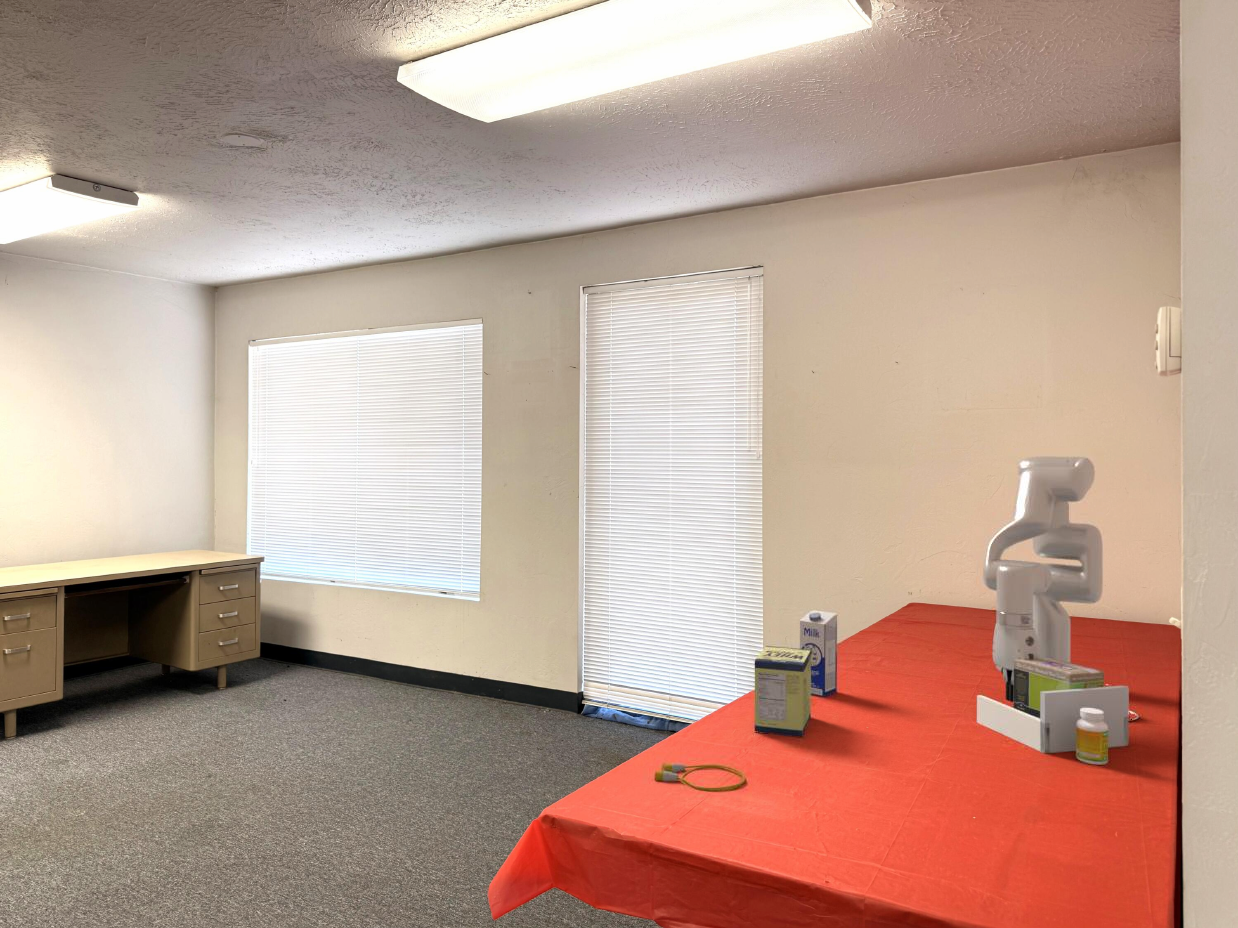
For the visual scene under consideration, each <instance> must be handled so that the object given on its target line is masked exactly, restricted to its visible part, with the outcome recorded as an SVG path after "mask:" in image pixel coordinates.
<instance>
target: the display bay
mask: <svg viewBox="0 0 1238 928" xmlns="http://www.w3.org/2000/svg"><path fill="white" fill-rule="evenodd" d="M1129 694H1130V688H1129V686H1128V685H1127V686H1126V685H1115V686H1114V685H1113V686H1104V687H1097V688H1083V689H1069V690H1055V691H1041V692H1040V719H1039V718H1036V717H1034V716H1032V715H1029V714H1027V713H1024V712H1022V711H1019V710H1017V709H1014V708H1013V707H1012V706H1009V705H1007V704H1004V703H1002V702H1000V701H997V700H995V699H992V698H989V697H988V696H985V695H979V694H978V695H976V723H977V724H979V725H981V726H982V727H983V726H984V727H986V728H988V729H990V730H993V731H994V732H996V733H999V734H1002V735H1004V736H1006V737H1007V738H1010V739H1012V740H1014V741H1017V742H1019V743H1021V744H1023V745H1025V746H1027V747H1029V748H1031V749H1034V750H1036V751H1038V752H1041V753H1043V754H1053V753H1064V752H1076V722H1077V721H1078V720H1079V719H1082V717H1081V716H1080V709H1081V708H1094V709H1098V710H1101V711H1103V712H1104V720H1102V721H1103V722H1104V723H1106V724H1107V726H1108V748H1117V747H1118V748H1119V747H1126V746H1128V747H1129V740H1130V739H1129V738H1130V737H1129V735H1130V734H1129V732H1130V731H1129V721H1130V720H1129V711H1130V706H1129V705H1130V704H1129V702H1130V701H1129V700H1130V698H1129V697H1130V695H1129Z"/></svg>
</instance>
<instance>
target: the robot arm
mask: <svg viewBox="0 0 1238 928" xmlns="http://www.w3.org/2000/svg"><path fill="white" fill-rule="evenodd" d="M1093 463H1094V462H1092V460H1091V459H1090V458H1088V457H1084V456H1032V457H1027V458H1024V459H1022V460H1020V461H1019V463H1018V466H1017V470H1018V471H1017V472H1018V476H1019V477H1018V480H1017V481H1018V482H1017V487H1016V488H1017V489H1016V493H1015V494H1016V495H1015V501H1014V506H1013V511H1012V519H1011V521H1010V522H1008V523H1007V524H1005V525H1004V526H1003V527H1001V529H999V530H998V531H997V533H995V534H994V535H993V536H992V538H991V540H990V541H989V543H988V545H987V548H986V551H985V557H984V563H983V569H982V580H983V583H984V585H985V587H987V588H988V589H990V590H991V591H995V592H996V610H995V611H996V614H995V615H996V616H995V617H996V620H995V621H996V623H995V626H994V632H993V641H992V660H993V663H994V664H995V668H996V669H997V670H998V671H999V672H1001V674H1002V676H1003V681H1004V682H1005V700H1006V701H1007V702H1008V701H1009V702H1011V703H1014V660H1015V659H1020V660H1028V659H1039V657H1049V658H1053V659H1056V660H1061V661H1065V662H1069V663H1071V617H1070V615H1069V613H1068V612H1067V610H1066V609H1065V608H1064V606H1063V605H1062V604H1061V602H1063V603H1076V604H1085V605H1087V604H1088V605H1091V604H1096V603H1098V602H1099V601H1100V600H1101V598H1102V595H1103V585H1104V584H1103V577H1104V576H1103V575H1104V574H1103V569H1104V568H1103V561H1104V560H1103V558H1104V557H1103V554H1104V552H1103V537H1102V533H1101V532H1100V530H1099V528H1098V527H1097V526H1095V525H1092V524H1090V523H1074V522H1073V523H1072V522H1071V521H1070V503H1077V502H1080V501H1082V500H1083V499H1084V498H1085V497H1086V495H1087V493H1088V492H1089V491H1090V489H1091V488H1092V486H1093V484H1094V482H1095V481H1094V480H1095V473H1096V472H1095V466H1094V464H1093ZM1030 539H1032V549H1033V552H1034V553H1035V554H1036V555H1037V556H1038V557H1041V558H1046V559H1054V560H1055V559H1056V560H1068V561H1078V562H1079V563H1080V564H1081V565H1074V564H1072V565H1071V564H1062V563H1050V562H1049V563H1046V562H1043V563H1040V562H1036V561H1025V560H1024V561H1023V560H1013V559H1001V558H1002V556H1003V554H1004V553H1005V552H1006V551H1007V550H1008V549H1009V548H1011V547H1013V546H1014V545H1017V544H1019V543H1021V542H1024V541H1027V540H1030Z"/></svg>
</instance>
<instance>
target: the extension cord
mask: <svg viewBox="0 0 1238 928" xmlns="http://www.w3.org/2000/svg"><path fill="white" fill-rule="evenodd" d="M686 769H690V770H688V771H686ZM700 769H701V770H702V769H720V770H724V771H726V772H729V773H732V774H734V775H736V776H738V777H740V778H741V779H742V781H741V782H739V783H736V784H732V785H726V786H720V787H704V786H696V785H694V784H692V783H691V782H689V781H688V780H686V779H685V776H687V775H688V774H690V773H691V772H693V771H698V770H700ZM684 771H686V772H685V773H684V774H682V776H681V778H680V777H679V774H678V773H679V772H684ZM654 781H656V782H657V781H662V782H678V781H680V783H682V785H684V786H686V787H689V786H691V787H693V789H695V790H699V791H705V792H706V791H710V792H712V791H713V792H714V791H715V792H723V791H731V790H735V789H737V788H739V787H741V786H742V785H743V784H745V782H746V776H745V775H744V774H743V773H742V772H741V771H740V770H738V769H736V768H734V767H731V766H726V765H721V764H719V765H718V764H698V765H696V764H695V765H685V764H684V763H674V762H673V763H665V762H663V763H662V764H661V771H659V770H656V771H655V773H654ZM687 784H688V785H687Z"/></svg>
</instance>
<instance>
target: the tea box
mask: <svg viewBox="0 0 1238 928" xmlns="http://www.w3.org/2000/svg"><path fill="white" fill-rule="evenodd" d="M1097 687H1105V671H1103V670H1101V669H1096V668H1092V667H1087V666H1085V665H1079V664H1076V663H1072V662H1070V663H1069V662H1065V661H1061V660H1056V659H1053V658H1049V657H1039V659H1028V660H1020V659H1015V660H1014V702H1013V707H1012V708H1014V709H1017V710H1019V711H1022V712H1024V713H1027V714H1029V715H1032V716H1034V717H1036V718H1039V719H1040V692H1041V691H1055V690H1069V689H1083V688H1097Z"/></svg>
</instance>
